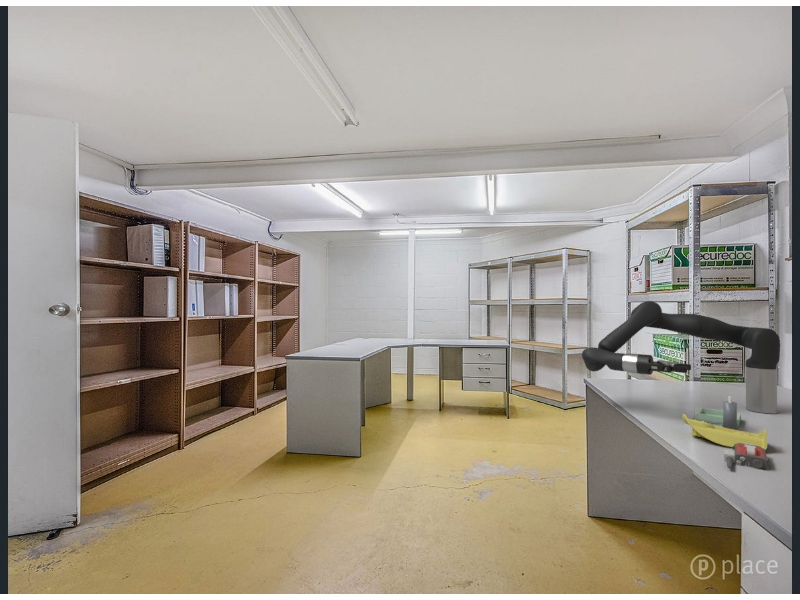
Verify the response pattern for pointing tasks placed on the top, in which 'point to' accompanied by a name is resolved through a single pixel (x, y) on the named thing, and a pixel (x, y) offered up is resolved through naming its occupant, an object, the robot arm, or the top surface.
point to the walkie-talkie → (746, 456)
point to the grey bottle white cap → (730, 414)
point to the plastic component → (725, 434)
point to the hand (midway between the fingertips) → (689, 368)
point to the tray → (713, 416)
